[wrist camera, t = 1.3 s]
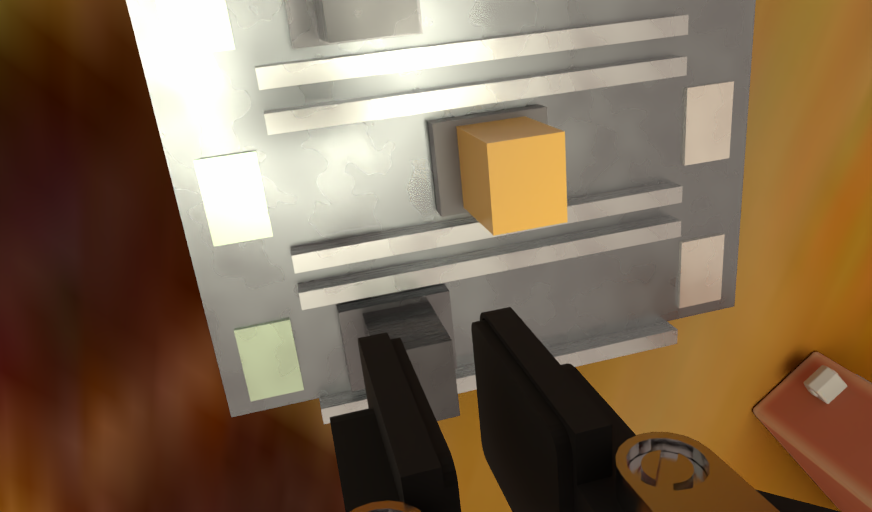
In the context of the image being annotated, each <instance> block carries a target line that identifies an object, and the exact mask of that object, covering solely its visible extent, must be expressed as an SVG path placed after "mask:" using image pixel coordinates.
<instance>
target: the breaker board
mask: <svg viewBox="0 0 872 512" xmlns="http://www.w3.org/2000/svg"><path fill="white" fill-rule="evenodd" d="M755 1H756V0H126V2H127V6H128V10H129V14H130V18H131V22H132V26H133V30H134V34H135V38H136V42H137V46H138V50H139V54H140V58H141V62H142V66H143V70H144V74H145V78H146V81H147V85H148V89H149V93H150V97H151V101H152V105H153V109H154V113H155V117H156V121H157V125H158V129H159V133H160V137H161V141H162V145H163V149H164V153H165V157H166V160H167V164H168V168H169V172H170V176H171V180H172V184H173V188H174V192H175V196H176V200H177V204H178V208H179V212H180V216H181V220H182V224H183V228H184V232H185V236H186V239H187V243H188V247H189V251H190V255H191V259H192V263H193V267H194V271H195V275H196V279H197V283H198V287H199V291H200V295H201V299H202V303H203V307H204V311H205V315H206V319H207V322H208V326H209V330H210V334H211V338H212V342H213V346H214V350H215V354H216V358H217V362H218V366H219V370H220V374H221V378H222V382H223V386H224V390H225V394H226V398H227V401H228V405H229V409H230V413H231V417H235V416H239V415H244V414H248V413H253V412H257V411H262V410H266V409H271V408H275V407H280V406H285V405H289V404H294V403H298V402H303V401H307V400H312V399H316V398H319V399H320V405H321V411H322V416H323V421H324V424H327V423H330V417H333V416H337V415H342V414H346V413H350V412H355V411H359V410H364V409H368V402H367V396H366V390H365V384H364V378H363V372H362V365H361V359H360V353H359V347H358V338H361V337H366V336H371V335H375V334H380V333H385V332H387V333H388V335H389V337H390V339H395V338H399V337H400V338H401V340H402V343H403V345H404V347H405V349H406V352H407V354H408V356H409V359H410V361H411V363H412V365H413V368H414V370H415V372H416V375H417V377H418V379H419V382H420V384H421V386H422V388H423V391H424V393H425V395H426V398H427V400H428V402H429V404H430V407H431V409H432V411H433V414H434V416H435V418H436V421H439V420H443V419H447V418H452V417H456V416H460V411H459V402H458V393H463V392H467V391H471V390H476V389H477V386H476V375H475V364H474V354H473V343H472V332H471V325H472V322H476V321H480V314H481V313H482V312H487V311H492V310H497V309H502V308H507V307H511V308H512V309H513V310H514V311H515V312H516V314H517V315H518V316H519V317H520V318H521V319H522V321H523V322H524V323H525V324H526V325H527V326H528V327H529V329H530V330H531V331H532V332H533V333H534V334H535V336H536V337H537V338H538V339H539V340H540V341H541V343H542V344H543V345H544V346H545V347H546V348H547V350H548V351H549V352H550V353H551V354H552V355H553V357H554V358H555V359H556V360H557V361H558V362H559V363H560V365H562V364H566V363H567V364H572V365H573V366H574V367H576V366H581V365H585V364H590V363H594V362H598V361H603V360H607V359H611V358H616V357H620V356H625V355H629V354H633V353H638V352H642V351H646V350H651V349H655V348H660V347H664V346H668V345H673V344H677V329H676V328H675V327H673V326H672V325H671V324H669V323H668V322H667V321H670V320H674V319H679V318H683V317H688V316H692V315H697V314H701V313H706V312H711V311H715V310H720V309H724V308H729V307H733V306H734V303H735V289H736V274H737V260H738V246H739V231H740V217H741V202H742V188H743V174H744V159H745V145H746V131H747V116H748V102H749V87H750V73H751V59H752V44H753V30H754V15H755ZM534 105H542V106H545V107H547V122H548V125H549V126H552V127H554V128H557V129H560V130H562V131H565V151H566V184H567V217H568V222H566V223H560V224H555V225H549V226H544V227H539V228H533V229H528V230H522V231H517V232H511V233H506V234H500V235H495V236H493V235H492V234H491V233H490V232H489V231H488V230H487V229H486V228H485V227H484V226H483V225H482V224H481V223H479V222H478V221H477V220H476V219H475V218H474V217H473V216H472V215H471V214H470V213H469V212H468V213H462V214H456V215H450V216H445V217H441V216H440V214H439V213H438V212H437V205H436V195H435V185H434V176H433V166H432V157H431V147H430V138H429V128H428V121H431V120H438V119H445V118H452V117H459V116H465V115H472V114H479V113H486V112H493V111H500V110H507V109H514V108H520V107H527V106H534Z"/></svg>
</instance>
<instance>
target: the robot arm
mask: <svg viewBox="0 0 872 512" xmlns="http://www.w3.org/2000/svg"><path fill="white" fill-rule="evenodd" d="M471 332H472V343H473V354H474V364H475V375H476V386H477V397H478V408H479V419H480V430H481V441H482V447H483V451H484V455H485V458H486V460H487V462H488V464H489V466H490V468H491V470H492V472H493V474H494V476H495V478H496V480H497V482H498V484H499V486H500V488H501V490H502V492H503V494H504V496H505V498H506V500H507V502H508V504H509V506H510V508H511V510H512V512H839V511H835V510H832V509H828V508H824V507H820V506H816V505H812V504H809V503H805V502H801V501H797V500H793V499H789V498H785V497H782V496H778V495H774V494H770V493H766V492H762V491H759V490H755V489H754V488H753V487H752V486H751V485H750V484H748V483H747V482H746V481H745V480H744V479H743V478H742V477H741V476H739V475H738V474H737V473H736V472H735V471H734V470H733V469H732V468H730V467H729V466H728V465H727V464H726V463H725V462H724V461H723V460H721V459H720V458H719V457H718V456H717V455H716V454H715V453H714V452H712V451H711V450H710V449H709V448H707V447H706V446H704V445H703V444H701V443H700V442H699V441H696V440H694V439H691V438H689V437H686V436H684V435H679V434H674V433H669V432H650V433H644V434H639V435H635V434H634V432H633V431H632V430H631V429H630V428H629V427H628V426H627V425H626V424H625V422H624V421H623V420H622V419H621V418H620V417H619V416H618V415H617V413H616V412H615V411H614V410H613V409H612V408H611V407H610V406H609V405H608V403H607V402H606V401H605V400H604V399H603V398H602V397H601V396H600V395H599V393H598V392H597V391H596V390H595V389H594V388H593V387H592V386H591V384H590V383H589V382H588V381H587V380H586V379H585V378H584V377H583V376H582V374H581V373H580V372H579V371H578V370H577V369H576V368H575V367H574V366H573V365H572V364H567V363H566V364H562V365H560V363H559V362H558V361H557V360H556V359H555V358H554V357H553V355H552V354H551V353H550V352H549V351H548V350H547V348H546V347H545V346H544V345H543V344H542V343H541V341H540V340H539V339H538V338H537V337H536V336H535V334H534V333H533V332H532V331H531V330H530V329H529V327H528V326H527V325H526V324H525V323H524V322H523V321H522V319H521V318H520V317H519V316H518V315H517V314H516V312H515V311H514V310H513V309H512V308H511V307H507V308H502V309H497V310H492V311H487V312H482V313H481V314H480V321H476V322H472V325H471ZM358 347H359V353H360V359H361V365H362V372H363V378H364V384H365V390H366V396H367V402H368V409H364V410H359V411H355V412H350V413H346V414H342V415H337V416H333V417H330V423H331V429H332V435H333V441H334V446H335V452H336V458H337V464H338V469H339V475H340V481H341V487H342V493H343V498H344V504H345V510H346V512H461V506H460V497H459V488H458V481H457V475H456V470H455V466H454V462H453V459H452V456H451V453H450V450H449V448H448V446H447V443H446V441H445V439H444V437H443V434H442V432H441V430H440V427H439V425H438V423H437V421H436V418H435V416H434V414H433V411H432V409H431V407H430V404H429V402H428V400H427V398H426V395H425V393H424V391H423V388H422V386H421V384H420V382H419V379H418V377H417V375H416V372H415V370H414V368H413V365H412V363H411V361H410V359H409V356H408V354H407V352H406V349H405V347H404V345H403V343H402V340H401V338H400V337H399V338H395V339H390V337H389V335H388V333H387V332H385V333H380V334H375V335H371V336H366V337H361V338H358Z"/></svg>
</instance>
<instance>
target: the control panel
mask: <svg viewBox="0 0 872 512" xmlns="http://www.w3.org/2000/svg"><path fill="white" fill-rule="evenodd" d="M753 412H754V414H755V415H756V417H757V418H758V419H759V420H760V421H761V422H762V423H763V424H764V426H765V427H766V428H767V429H768V430H769V431H770V432H771V433H772V435H773V436H774V437H775V438H776V439H777V440H778V441H779V442H780V444H781V445H782V446H783V447H784V448H785V449H786V450H787V451H788V453H789V454H790V455H791V456H792V457H793V458H794V459H795V460H796V462H797V463H798V464H799V465H800V466H801V467H802V468H803V469H804V471H805V472H806V473H807V474H808V475H809V476H810V477H811V478H812V480H813V481H814V482H815V483H816V484H817V485H818V486H819V488H820V489H821V490H822V491H823V492H824V493H825V494H826V495H827V497H828V498H829V499H830V500H831V501H832V502H833V503H834V504H835V506H836V507H837V508H839V509H840V510H841V511H842V512H872V383H871V382H869V381H867V380H866V379H864V378H862V377H861V376H859V375H857V374H854V373H852V372H851V371H849V370H847V369H846V368H844V367H842V366H841V365H839V364H837V363H836V362H834V361H832V360H831V359H829V358H827V357H826V356H824V355H822V354H821V353H818V352H814V353H812V354H811V355H810V356H809V357H808V358H807V359H806V360H805V361H804V362H803V363H802V364H800V365H799V366H798V367H797V368H796V369H795V370H794V371H793V372H792V373H791V374H790V375H789V376H788V377H787V378H785V379H784V380H783V381H782V382H781V383H780V384H779V385H778V386H777V387H776V388H775V389H774V390H773V391H772V392H770V393H769V394H768V395H767V396H766V397H765V398H764V399H763V400H762V401H761V402H760V403H759V404H758V405H757V406H755V407H754V409H753Z"/></svg>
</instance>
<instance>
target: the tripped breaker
mask: <svg viewBox="0 0 872 512" xmlns="http://www.w3.org/2000/svg"><path fill="white" fill-rule="evenodd" d="M428 128H429V138H430V147H431V157H432V166H433V176H434V185H435V195H436V205H437V212H438V213H439V214H440V216H441V217H445V216H450V215H456V214H462V213H468V212H469V213H470V214H471V215H472V216H473V217H474V218H475V219H476V220H477V221H478V222H479V223H481V224H482V225H483V226H484V227H485V228H486V229H487V230H488V231H489V232H490V233H491V234H492V235H493V236H495V235H500V234H506V233H511V232H517V231H522V230H528V229H533V228H539V227H544V226H549V225H555V224H560V223H566V222H568V217H567V184H566V151H565V131H562V130H560V129H557V128H554V127H552V126H549V125H548V122H547V107H545V106H542V105H534V106H527V107H520V108H514V109H507V110H500V111H493V112H486V113H479V114H472V115H465V116H459V117H452V118H445V119H438V120H431V121H428Z"/></svg>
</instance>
